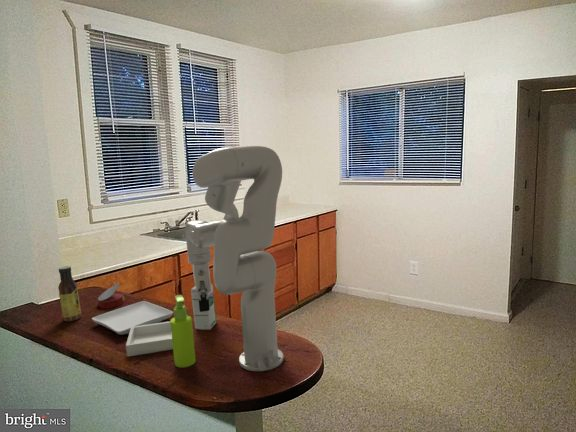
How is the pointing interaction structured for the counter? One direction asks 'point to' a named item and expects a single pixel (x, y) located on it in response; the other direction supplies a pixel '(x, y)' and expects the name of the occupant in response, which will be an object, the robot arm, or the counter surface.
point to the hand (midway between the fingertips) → (203, 305)
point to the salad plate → (132, 317)
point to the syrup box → (207, 317)
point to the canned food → (111, 298)
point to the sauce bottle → (68, 295)
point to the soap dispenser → (182, 335)
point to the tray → (149, 339)
